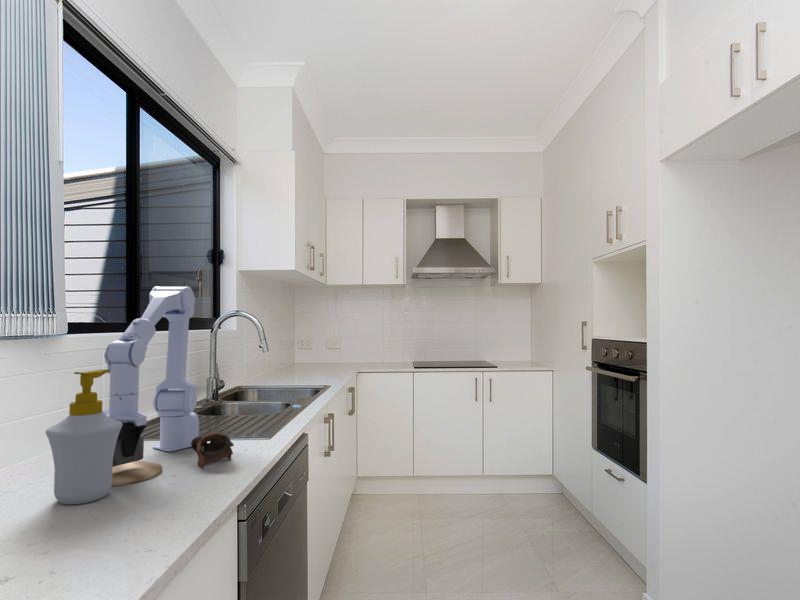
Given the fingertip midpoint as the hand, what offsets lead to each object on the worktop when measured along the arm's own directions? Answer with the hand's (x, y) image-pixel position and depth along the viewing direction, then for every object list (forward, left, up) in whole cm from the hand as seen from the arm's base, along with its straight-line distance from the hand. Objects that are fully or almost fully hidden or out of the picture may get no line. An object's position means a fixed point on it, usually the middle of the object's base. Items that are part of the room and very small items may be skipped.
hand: (122, 454), depth 110 cm
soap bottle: (+12, +8, -5) cm, 15 cm away
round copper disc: (0, 0, -4) cm, 4 cm away
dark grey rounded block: (+1, 0, -1) cm, 2 cm away
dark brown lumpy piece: (-17, +9, -5) cm, 20 cm away
